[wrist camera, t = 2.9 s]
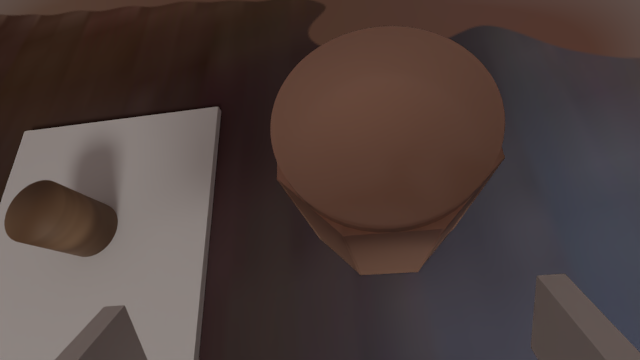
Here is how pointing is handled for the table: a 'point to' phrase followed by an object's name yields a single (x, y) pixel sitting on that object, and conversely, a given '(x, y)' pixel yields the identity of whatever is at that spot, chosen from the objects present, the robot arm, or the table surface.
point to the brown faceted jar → (387, 143)
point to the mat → (116, 234)
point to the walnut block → (60, 219)
